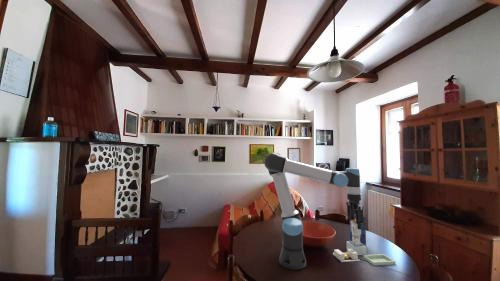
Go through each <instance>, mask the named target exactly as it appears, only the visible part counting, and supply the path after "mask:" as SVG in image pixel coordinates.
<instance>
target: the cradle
mask: <svg viewBox="0 0 500 281" xmlns="http://www.w3.org/2000/svg"><path fill="white" fill-rule="evenodd" d="M344 254H348V255H349V258H351V259H345V258H344ZM332 255H333V256H334V257H335V258H336V259H337V260H339V261H340V262H341V263H347V262H348V263H350V262H360V261H361V260H360V259H359V255H358V253H357V252H355V251H354V250H353V249H347V248H346V252H342V251H341V250H340V249H339V248H337V249H333V253H332Z"/></svg>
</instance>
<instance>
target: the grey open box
mask: <svg viewBox="0 0 500 281" xmlns="http://www.w3.org/2000/svg"><path fill="white" fill-rule="evenodd" d="M347 249H353V250H354V251H355V252H357V253H358V256H363V255H368V252H367V251H368V250H367V245H366V246H365V245H364V244H362V243H361V242H360V246H353V245H352V241H350V240H349V241H348V240H346V250H347Z"/></svg>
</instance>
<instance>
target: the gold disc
mask: <svg viewBox="0 0 500 281" xmlns="http://www.w3.org/2000/svg"><path fill="white" fill-rule="evenodd" d="M344 260H350V257H349V255H348V254H344Z"/></svg>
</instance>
